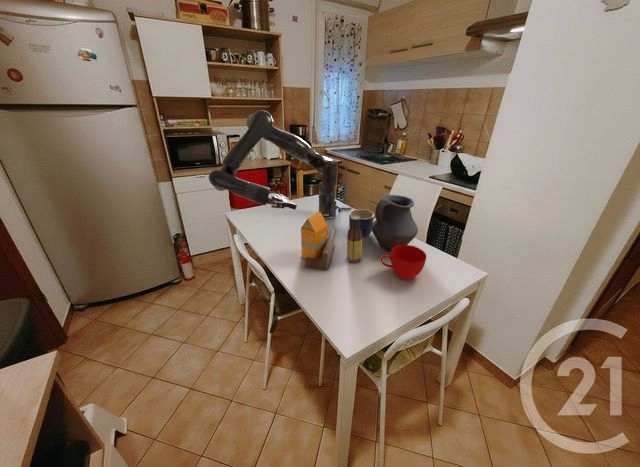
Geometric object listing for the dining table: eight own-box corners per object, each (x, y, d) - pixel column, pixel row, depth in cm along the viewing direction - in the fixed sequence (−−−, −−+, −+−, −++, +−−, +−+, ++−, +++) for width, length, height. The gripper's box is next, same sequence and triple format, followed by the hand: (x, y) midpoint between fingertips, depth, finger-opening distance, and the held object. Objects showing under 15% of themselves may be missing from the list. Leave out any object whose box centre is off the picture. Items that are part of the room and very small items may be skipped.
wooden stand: (305, 267, 109) (305, 251, 105) (315, 243, 126) (315, 229, 122) (327, 270, 107) (327, 253, 103) (334, 245, 124) (334, 230, 121)
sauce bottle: (362, 256, 116) (366, 215, 107) (359, 264, 111) (363, 221, 101) (347, 253, 118) (350, 213, 108) (344, 261, 112) (347, 219, 103)
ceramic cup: (375, 264, 111) (378, 244, 106) (416, 265, 110) (420, 245, 106) (381, 284, 99) (384, 262, 95) (426, 285, 99) (431, 263, 94)
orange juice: (327, 254, 118) (328, 213, 108) (315, 263, 111) (315, 220, 102) (313, 248, 122) (313, 209, 112) (301, 257, 115) (300, 215, 106)
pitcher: (423, 250, 121) (434, 199, 110) (389, 264, 111) (397, 209, 99) (391, 232, 137) (398, 186, 125) (358, 243, 127) (362, 194, 115)
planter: (363, 226, 143) (365, 207, 138) (377, 236, 133) (379, 216, 128) (343, 230, 138) (344, 211, 133) (356, 241, 129) (358, 220, 123)
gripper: (254, 189, 103) (296, 204, 104) (263, 181, 115) (301, 194, 116) (250, 206, 106) (291, 220, 107) (259, 196, 118) (296, 209, 119)
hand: (296, 207), depth 112 cm, fingers closed
